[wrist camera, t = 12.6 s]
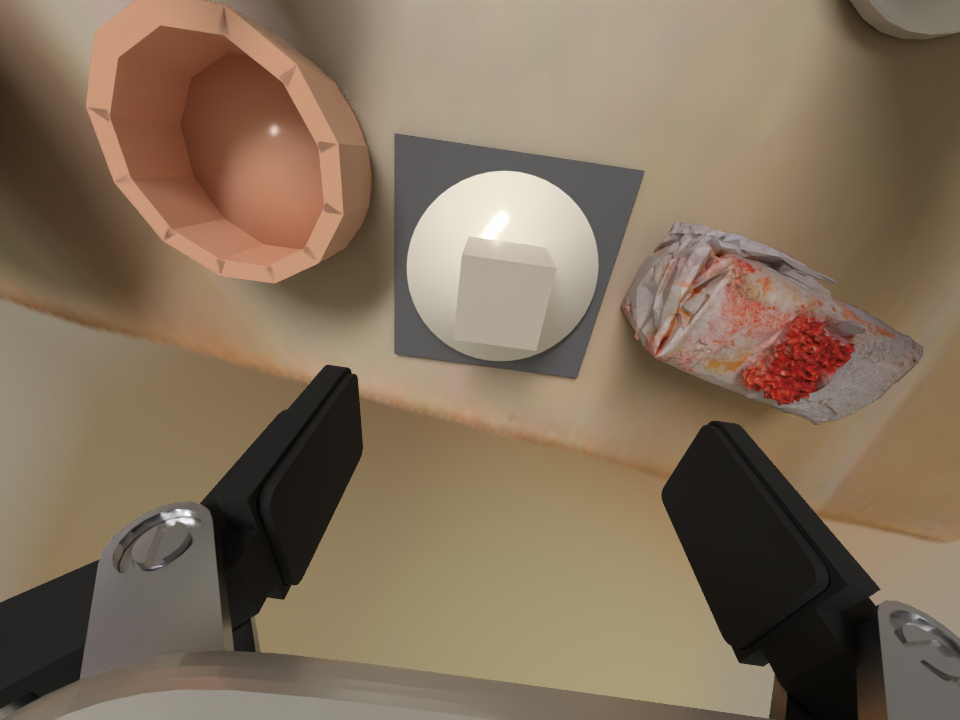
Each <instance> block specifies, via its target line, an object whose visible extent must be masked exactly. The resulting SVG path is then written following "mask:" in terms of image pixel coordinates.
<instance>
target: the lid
mask: <svg viewBox="0 0 960 720" xmlns="http://www.w3.org/2000/svg"><path fill="white" fill-rule="evenodd" d="M598 269H599V265H598V251H597V245H596V241H595V237H594V234H593V231H592V229H591V226H590V224H589V222H588V220H587V218H586V217H585V215H584V214H583V212H582V211H581V209H580V208H579V206H578V205H577V204H576V203H575V202H574V201H573V200H572V199H571V198H570V196H568V195H567V194H566V193H565V192H563V191H562V190H561V189H560V188H558V187H557V186H555V185H553V184H552V183H550V182H548V181H546V180H544V179H541V178H539V177H536V176H534V175H531V174H526V173H522V172H517V171H492V172H486V173H482V174H478V175H475V176H472V177H469V178H467V179H464V180H462V181H460V182H459V183H457V184H455V185H453V186H452V187H450V188H449V189H447V190H446V191H445V192H443V193H442V194H441V195H440V196H438V198H437V199H436V200H435V201H434V202H433V203H432V204H431V205H430V206H429V207H428V208H427V210H426V211H425V213H424V214H423V215H422V217H421V218H420V220H419V222H418V224H417V226H416V228H415V230H414V233H413V236H412V238H411V241H410V245H409V250H408V256H407V280H408V286H409V291H410V294H411V297H412V300H413V303H414V305H415V307H416V309H417V312H418V313H419V315H420V317H421V318H422V320H423V321H424V323H425V324H426V325H427V326H428V328H429V329H430V330H431V331H432V332H433V333H434V334H435V335H436V336H437V337H438V338H439V339H440V340H442V341H443V342H444V343H445V344H447V345H448V346H450V347H452V348H453V349H455V350H457V351H459V352H461V353H463V354H466V355H468V356H471V357H475V358H478V359H483V360H489V361H512V360H519V359H523V358H527V357H531V356H533V355H536V354H539V353H541V352H543V351H545V350H547V349H549V348H551V347H552V346H554V345H555V344H557V343H558V342H560V341H561V340H562V339H563V338H564V337H566V336H567V335H568V334H569V333H570V332H571V331H572V330H573V329H574V328H575V326H576V325H577V324H578V323H579V321H580V320H581V319H582V317H583V316H584V314H585V312H586V310H587V309H588V307H589V305H590V303H591V300H592V297H593V295H594V292H595V288H596V284H597V278H598Z"/></svg>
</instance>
